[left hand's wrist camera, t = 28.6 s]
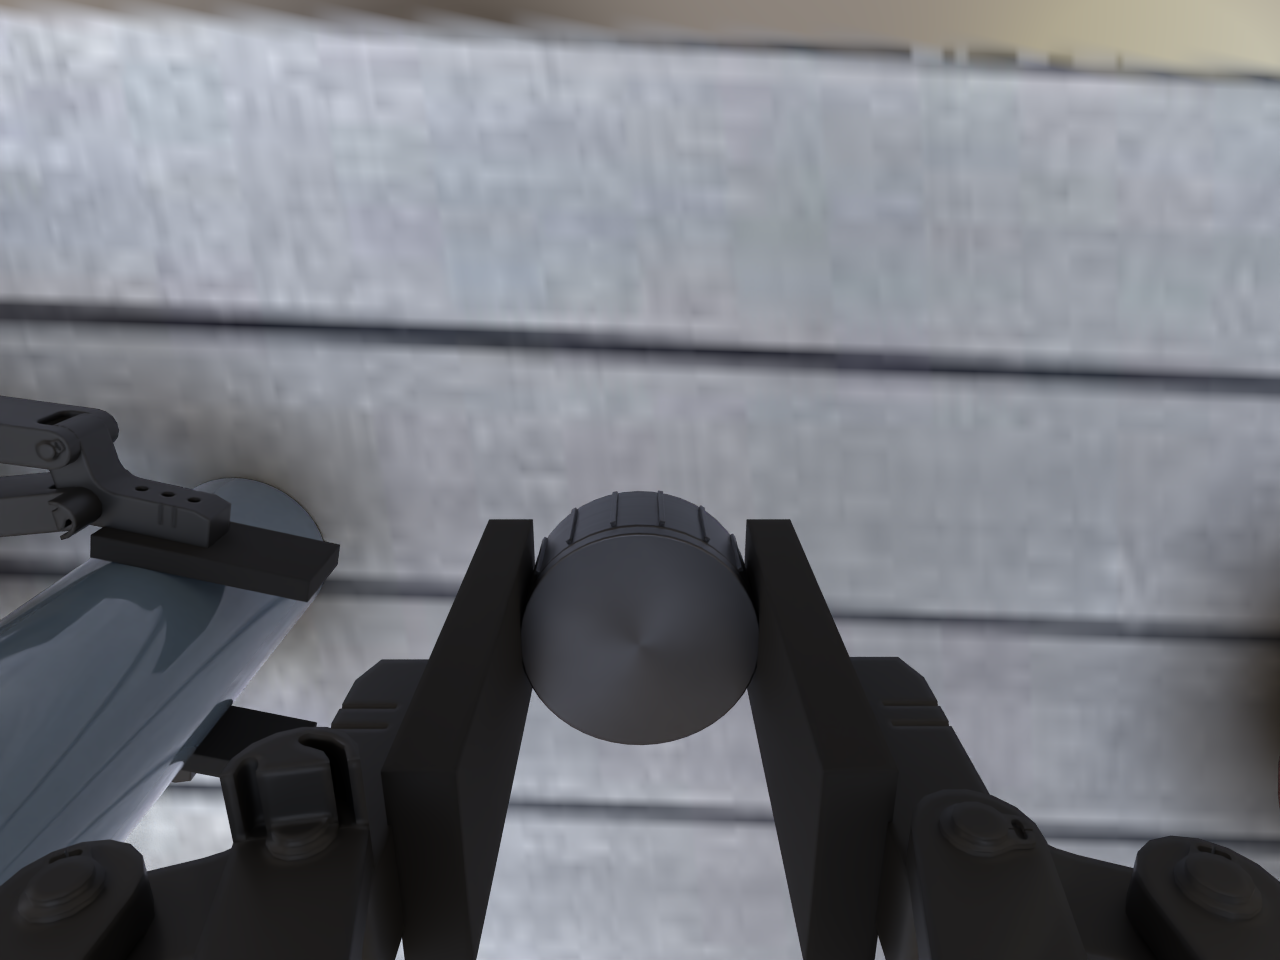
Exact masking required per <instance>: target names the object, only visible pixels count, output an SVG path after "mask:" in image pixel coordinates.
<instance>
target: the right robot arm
mask: <svg viewBox="0 0 1280 960" xmlns="http://www.w3.org/2000/svg"><path fill="white" fill-rule="evenodd" d="M118 433H119V428H118V425H117V422H116V421H115V419H114V418H113V416H111V415H110V414H109V413H107V412H106V411H103V410H100V409H94V408H86V407H79V406H72V405H64V404H57V403H50V402H42V401H35V400H27V399H20V398H13V397H5V396H0V463H4V464H12V465H20V466H27V467H35V468H42V469H49V471H50V472H48V473H37V474H27V475H16V476H6V477H0V537H6V536H16V535H27V534H38V533H49V532H60V531H68V532H67V533H65V534H63V535H62V536H60V538H61V540H63V539H66V538H69V537H71V536H72V535H74V534H75V533H77V532H79V531H80V530H82V529H84V528H85V527H87V526H88V525H94V526H99V527H103V528H101V529H100V530H98V531H96V532H95V533H93V534H92V535H91V551H90V557H91V558H96V559H100V560H105V561H110V562H115V563H120V564H124V565H129V566H134V567H139V568H144V569H148V570H153V571H158V572H163V573H168V574H173V575H177V576H182V577H187V578H192V579H197V580H201V581H206V582H211V583H216V584H221V585H225V586H230V587H235V588H240V589H245V590H249V591H254V592H259V593H264V594H269V595H274V596H278V597H283V598H288V599H293V600H298V601H302V602H308V601H309V600H310V599H311V597H312V596H313V595H314V594H315V592H316V591H317V590H318V588H319V587H320V586H321V585H322V583H323V582H324V581H325V580H326V578H327V577H328V576H329V575H330V573H331V572H332V571H333V570H334V568H335V567H336V566H337V564H338V557H339V549H340V545H339V544H334V543H329V542H325V541H320V540H315V539H311V538H306V537H301V536H297V535H292V534H287V533H282V532H278V531H273V530H268V529H264V528H259V527H254V526H250V525H245V524H240V523H236V522H231V521H230V514H231V503H229V502H228V501H226V500H224V499H223V498H221V497H219V496H218V495H216V494H211V493H207V492H202V491H196V490H193V489H188V488H183V487H179V486H174V485H170V484H165V483H160V482H156V481H151V480H146V479H142V478H139V477H136V476H134V475H132V474H131V473H130V472H129V471H128V470H126V469H125V468H124V467H123V466H122V464H121V463H120V461H119V459H118V456H117V453H116V450H115V447H114V444H113V442H114V441H115V440H116V439H117V437H118ZM316 726H317V722H312V721H307V720H302V719H297V718H292V717H287V716H282V715H277V714H272V713H267V712H261V711H256V710H251V709H246V708H241V707H236V706H230V707H229V709H228V710H227V711H226V713H225V714H224V715H223V716H222V718H221V719H220V720H219V721H218V723H217V724H216V725H215V727H214V728H213V729H212V730H211V732H210V733H209V734H208V736H207V737H206V738H205V739H204V741H203V742H202V743H201V744H200V746H199V747H198V748H197V750H196V751H195V752H194V753H193V755H192V756H191V757H190V758H189V760H188V761H187V762H186V764H185V765H184V766H183V767H182V769H181V770H180V771H179V772H178V774H177V775H176V776H175V778H174V779H173V780H172V781H171V782H175V783H176V782H184V781H191V780H192V778H193V777H194V776H195V774H196V773H199V774H204V775H210V776H215V777H219V776H220V774H221V773H222V772H223V770H224V769H225V767H226V766H227V764H228V763H229V762H230V760H231V759H232V758H233V757H235V756H236V755H237V754H239V753H240V752H241V751H243V750H244V749H245V748H247V747H248V746H249V745H251V744H252V743H254V742H257V741H259V740H261V739H263V738H266V737H268V736H270V735H273V734H275V733H278V732H282V731H287V730H291V729H296V728H300V727H316Z"/></svg>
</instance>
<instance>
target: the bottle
mask: <svg viewBox="0 0 1280 960" xmlns="http://www.w3.org/2000/svg"><path fill="white" fill-rule="evenodd" d="M193 490H196V491H202V492H207V493H211V494H216V495H218V496H219V497H221V498H223V499H224V500H226V501H228V502H229V503H231V514H230V521H231V522H236V523H240V524H245V525H250V526H254V527H259V528H264V529H268V530H273V531H278V532H282V533H287V534H292V535H297V536H301V537H306V538H311V539H315V540H320V541H323V539H322V536H321V534H320V532H319V530H318V528H317V526H316V524H315V523H314V521H313V520H312V518H311V517H310V515H309V514H308V513H307V512H306V511H305V509H304V508H303V507H302V506H301V505H299V504H298V503H297V502H296V501H295V500H294V499H292V498H291V497H290V496H288V495H287V494H285V493H284V492H282V491H280V490H278V489H277V488H275V487H272V486H270V485H268V484H265V483H262V482H258V481H255V480H250V479H244V478H222V479H217V480H212V481H209V482H206V483H203V484H201V485H199V486H197V487H195V488H193ZM322 585H323V583H322ZM322 585H321V586H320V587H319V588H318V590H317V591H316V592H315V594H314V595H313V596H312V597H311V599H310V600H309V601H308V602H302V601H298V600H293V599H288V598H283V597H278V596H274V595H269V594H264V593H259V592H254V591H249V590H245V589H240V588H235V587H230V586H225V585H221V584H216V583H211V582H206V581H201V580H197V579H192V578H187V577H182V576H177V575H173V574H168V573H163V572H158V571H153V570H148V569H144V568H139V567H134V566H129V565H124V564H120V563H115V562H110V561H105V560H100V559H96V558H91V559H89V560H88V561H86V562H85V563H83V564H82V565H80V566H79V567H78V568H76V569H75V570H73V571H72V572H70V573H69V574H67V575H66V576H64V577H63V578H61V579H60V580H58V581H57V582H56V583H54V584H53V585H51V586H50V587H48V588H47V589H45V590H44V591H42V592H41V593H39V594H38V595H37V596H35V597H34V598H32V599H31V600H29V601H28V602H26V603H25V604H23V605H22V606H20V607H19V608H18V609H16V610H15V611H13V612H12V613H10V614H9V615H7V616H6V617H4V618H3V619H1V620H0V886H1V885H2V884H3V883H5V882H6V881H7V880H8V879H9V878H11V877H12V876H13V875H14V874H16V873H17V872H18V871H19V870H20V869H22V868H23V867H25V866H27V865H29V864H30V863H32V862H34V861H36V860H38V859H40V858H42V857H43V856H45V855H47V854H49V853H51V852H53V851H56V850H59V849H62V848H65V847H68V846H72V845H75V844H78V843H81V842H87V841H97V840H107V839H111V840H115V841H120V842H124V841H125V840H126V839H127V837H128V836H129V835H130V834H131V832H132V831H133V830H134V829H135V827H136V826H137V825H138V823H139V822H140V821H141V820H142V818H143V817H144V816H145V814H146V813H147V812H148V811H149V809H150V808H151V807H152V806H153V804H154V803H155V802H156V800H157V799H158V798H159V797H160V795H161V794H162V793H163V792H164V790H165V789H166V788H167V786H168V785H169V784H170V783H171V781H172V780H173V779H174V778H175V776H176V775H177V774H178V772H179V771H180V770H181V769H182V767H183V766H184V765H185V764H186V762H187V761H188V760H189V758H190V757H191V756H192V755H193V753H194V752H195V751H196V750H197V748H198V747H199V746H200V744H201V743H202V742H203V741H204V739H205V738H206V737H207V736H208V734H209V733H210V732H211V730H212V729H213V728H214V727H215V725H216V724H217V723H218V721H219V720H220V719H221V718H222V716H223V715H224V714H225V713H226V711H227V710H228V709H229V707H230V706H231V705H232V704H233V702H234V701H235V700H236V699H237V697H238V696H239V695H240V693H241V692H242V691H243V690H244V688H245V687H246V686H247V685H248V683H249V682H250V681H251V679H252V678H253V677H254V676H255V674H256V673H257V672H258V671H259V669H260V668H261V667H262V665H263V664H264V663H265V662H266V660H267V659H268V658H269V657H270V655H271V654H272V653H273V651H274V650H275V649H276V648H277V646H278V645H279V644H280V642H281V641H282V640H283V639H284V637H285V636H286V635H287V634H288V632H289V631H290V630H291V628H292V627H293V626H294V625H295V623H296V622H297V621H298V620H299V618H300V617H301V616H302V614H303V613H304V612H305V611H306V609H307V608H308V607H309V606H310V604H311V603H312V602H313V600H314V599H315V598H316V596H317V595H318V593H319V591H320V590H321V587H322Z"/></svg>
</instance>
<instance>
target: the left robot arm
mask: <svg viewBox="0 0 1280 960" xmlns="http://www.w3.org/2000/svg"><path fill="white" fill-rule="evenodd" d="M534 567H535V556H534V535H533V519H489V521H488V524H487V526H486V528H485V531H484V533H483V535H482V538H481V540H480V542H479V545H478V547H477V549H476V551H475V554H474V556H473V558H472V561H471V563H470V565H469V568H468V570H467V572H466V575H465V577H464V579H463V582H462V584H461V586H460V589H459V591H458V593H457V596H456V598H455V600H454V602H453V605H452V607H451V609H450V612H449V614H448V616H447V619H446V621H445V623H444V626H443V628H442V630H441V633H440V635H439V637H438V640H437V642H436V644H435V646H434V649H433V651H432V653H431V656H430V658H429V660H380V661H379V662H378V663H377V664H375V665H374V666H373V667H372V668H370V669H369V670H368V671H367V672H365V673H364V674H363V675H362V676H360V677H359V678H358V679H356V680H355V682H354V684H353V686H352V688H351V689H350V691H349V693H348V695H347V697H346V698H345V700H344V702H343V704H342V709H339V711H338V713H337V715H336V716H335V718H334V720H333V722H332V723H331V728H328V727H300V728H296V729H291V730H287V731H282V732H278V733H275V734H273V735H270V736H268V737H266V738H263V739H261V740H259V741H257V742H254V743H252V744H251V745H249V746H248V747H247V748H245V749H244V750H243V751H241V752H240V753H239V754H237V755H236V756H235V757H233V758H232V759H231V760H230V762H229V763H228V764H227V766H226V767H225V769H224V770H223V772H222V773H221V774H220V776H219V777H220V781H221V786H222V791H223V796H224V800H225V805H226V810H227V815H228V820H229V824H230V829H231V834H232V839H233V845H232V848H231V849H229V850H226V851H224V852H221V853H218V854H215V855H212V856H208V857H205V858H202V859H198V860H193V861H189V862H185V863H181V864H176V865H172V866H168V867H164V868H160V869H155V870H151V871H146V867H145V863H144V859H143V855H141V854H140V853H139V852H138V851H137V850H136V849H135V848H134V847H133V846H132V845H131V844H129V843H124V842H120V841H115V840H111V839H107V840H97V841H87V842H81V843H78V844H75V845H72V846H68V847H65V848H62V849H59V850H56V851H53V852H51V853H49V854H47V855H45V856H43V857H42V858H40V859H38V860H36V861H34V862H32V863H30V864H29V865H27V866H25V867H23V868H22V869H20V870H19V871H18V872H17V873H16V874H14V875H13V876H12V877H11V878H9V879H8V880H7V881H6V882H5V883H3V884H2V885H1V886H0V960H395V958H396V955H397V951H398V948H399V945H400V942H401V938H402V942H403V949H404V957H405V960H476V958H477V953H478V949H479V944H480V939H481V934H482V929H483V924H484V920H485V915H486V910H487V905H488V900H489V895H490V891H491V886H492V881H493V876H494V871H495V866H496V862H497V857H498V852H499V847H500V842H501V837H502V833H503V828H504V823H505V818H506V813H507V808H508V804H509V799H510V794H511V789H512V784H513V779H514V775H515V770H516V765H517V760H518V755H519V750H520V746H521V741H522V736H523V731H524V726H525V721H526V717H527V712H528V707H529V702H530V697H531V693H532V686H531V684H530V682H529V680H528V678H527V676H526V674H525V671H524V668H523V664H522V649H521V629H520V621H521V616H522V612H523V609H524V605H525V601H526V597H527V593H528V590H529V586H530V582H531V578H532V575H533V571H534ZM745 568H746V571H747V575H748V579H749V582H750V586H751V590H752V594H753V597H754V601H755V605H756V609H757V612H758V617H759V638H758V656H757V668H756V670H755V673H754V675H753V678H752V680H751V682H750V684H749V685H748V687H747V690H748V695H749V700H750V705H751V710H752V714H753V719H754V724H755V729H756V734H757V739H758V743H759V748H760V753H761V758H762V763H763V768H764V772H765V777H766V782H767V787H768V792H769V797H770V801H771V806H772V811H773V816H774V821H775V826H776V830H777V835H778V840H779V845H780V850H781V855H782V859H783V864H784V869H785V874H786V879H787V884H788V888H789V893H790V898H791V903H792V908H793V913H794V917H795V922H796V927H797V932H798V937H799V942H800V946H801V951H802V956H803V960H875V953H876V945H877V937H878V936H879V940H880V943H881V946H882V949H883V952H884V956H885V959H886V960H1280V882H1279V881H1278V880H1277V879H1275V878H1274V877H1273V876H1272V875H1271V874H1269V873H1268V872H1267V871H1266V870H1265V869H1263V868H1262V867H1261V866H1260V865H1258V864H1257V863H1255V862H1253V861H1251V860H1249V859H1247V858H1246V857H1244V856H1242V855H1240V854H1238V853H1236V852H1234V851H1233V850H1231V849H1229V848H1226V847H1223V846H1220V845H1217V844H1214V843H1210V842H1207V841H1204V840H1201V839H1198V838H1188V837H1178V836H1167V837H1163V838H1158V839H1154V840H1150V841H1149V842H1148V843H1146V844H1145V845H1144V846H1143V847H1142V848H1141V849H1140V850H1139V851H1138V853H1137V857H1136V860H1135V864H1134V868H1130V867H1126V866H1122V865H1118V864H1113V863H1109V862H1105V861H1101V860H1096V859H1092V858H1088V857H1084V856H1079V855H1076V854H1073V853H1069V852H1066V851H1063V850H1060V849H1057V848H1054V847H1052V846H1050V845H1048V844H1047V841H1046V840H1045V838H1044V837H1043V835H1042V833H1041V832H1040V830H1039V828H1038V827H1037V825H1036V824H1035V823H1034V822H1033V821H1032V820H1031V819H1030V818H1028V817H1027V816H1026V815H1025V814H1024V813H1022V812H1021V811H1020V810H1019V809H1018V808H1016V807H1015V806H1013V805H1011V804H1009V803H1007V802H1005V801H1003V800H1001V799H999V798H996V797H994V796H992V795H990V794H989V792H988V790H987V789H986V787H985V785H984V783H983V782H982V780H981V778H980V776H979V774H978V773H977V771H976V769H975V767H974V766H973V764H972V762H971V760H970V758H969V757H968V755H967V753H966V751H965V750H964V748H963V746H962V744H961V742H960V741H959V739H958V737H957V735H956V733H955V732H954V730H953V728H952V726H949V721H948V719H947V717H946V716H945V714H944V712H943V710H942V709H941V707H940V706H938V704H937V700H936V698H935V696H934V694H933V693H932V691H931V689H930V687H929V685H928V684H927V682H926V680H925V678H924V677H923V676H922V675H920V674H919V673H918V672H916V671H915V670H914V669H913V668H911V667H910V666H909V665H908V664H906V663H905V662H904V661H902V660H901V659H900V658H899V657H849V655H848V652H847V650H846V648H845V646H844V643H843V641H842V639H841V636H840V634H839V632H838V629H837V627H836V625H835V622H834V620H833V618H832V615H831V613H830V611H829V608H828V606H827V604H826V601H825V599H824V597H823V595H822V592H821V590H820V588H819V585H818V583H817V581H816V578H815V576H814V574H813V571H812V569H811V567H810V564H809V562H808V560H807V557H806V555H805V553H804V550H803V548H802V546H801V544H800V541H799V539H798V537H797V534H796V532H795V530H794V527H793V525H792V523H791V520H790V519H747V523H746V544H745Z"/></svg>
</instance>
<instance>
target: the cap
mask: <svg viewBox="0 0 1280 960" xmlns="http://www.w3.org/2000/svg"><path fill="white" fill-rule="evenodd" d="M520 629H521V649H522V664H523V668H524V671H525V674H526V676H527V678H528V680H529V682H530V684H531V686H532V688H533V689H534V691H535V692H536V694H537V695H538V697H539V698H540V699H541V700H542V702H543V703H544V704H545V705H546V706H547V707H548V709H550V710H551V711H552V712H553V713H554V714H555V715H556V716H557V717H559V718H560V719H561V720H563V721H564V722H566V723H567V724H569V725H570V726H572V727H573V728H575V729H577V730H579V731H581V732H583V733H585V734H588V735H590V736H593V737H595V738H598V739H602V740H606V741H609V742H614V743H621V744H628V745H650V744H660V743H665V742H671V741H674V740H678V739H681V738H685V737H687V736H690V735H692V734H694V733H697V732H699V731H701V730H703V729H704V728H706V727H708V726H710V725H711V724H713V723H714V722H716V721H717V720H718V719H720V718H721V717H722V716H724V715H725V714H726V713H727V712H728V711H729V710H730V709H731V708H732V707H733V706H734V705H735V704H736V703H737V701H738V700H739V699H740V698H741V696H742V695H743V694H744V692H745V690H746V689H747V687H748V685H749V684H750V682H751V680H752V678H753V675H754V673H755V670H756V668H757V656H758V638H759V617H758V612H757V609H756V605H755V601H754V597H753V594H752V590H751V586H750V582H749V579H748V575H747V571H746V568H745V564H744V561H743V558H742V556H741V553H740V551H739V549H738V546H737V542H736V538H735V536H734V535H733V534H731V535H730V534H729V533H728V531H727V530H726V529H725V528H724V527H723V526H722V525H721V524H720V523H719V522H718V521H717V520H716V519H715V518H714V517H712V516H711V515H710V514H709V513H707V512H706V511H705V508H704V507H703V506H700V507H698V506H696V505H695V504H692V503H690V502H688V501H686V500H683V499H681V498H678V497H675V496H671V495H668V494H663V491H658V493H657V492H645V491H634V492H622V493H618V492H613V494H612V495H608V496H605V497H602V498H599V499H596V500H594V501H592V502H590V503H588V504H586V505H584V506H582V507H580V508H579V509H576V508H574V509H573V510H572V512H571V514H570V515H568V516H567V517H566V518H565V519H564V520H563V521H562V522H560V523H559V524H558V526H557V527H556V528H555V529H554V530H553V531H552V532H551V534H550V535H549V537H548V538H546V537H544V539H543V540H542V544H541V548H540V551H539V555H538V557H537V561H536V564H535V567H534V571H533V575H532V578H531V582H530V586H529V590H528V593H527V597H526V601H525V605H524V609H523V612H522V616H521V621H520Z"/></svg>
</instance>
